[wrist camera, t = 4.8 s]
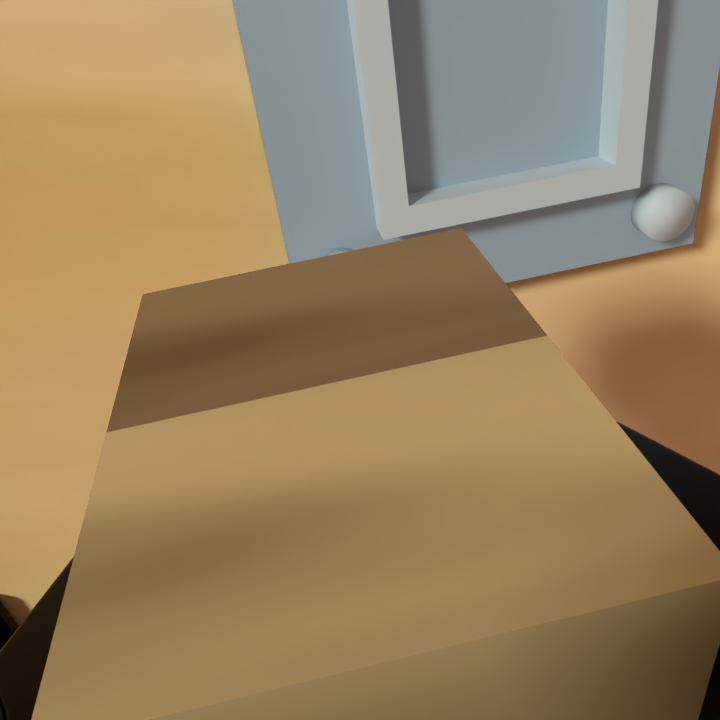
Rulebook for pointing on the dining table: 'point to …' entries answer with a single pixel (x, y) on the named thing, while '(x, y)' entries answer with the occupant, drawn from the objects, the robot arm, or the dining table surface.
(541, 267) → the board
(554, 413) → the block
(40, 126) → the dining table surface
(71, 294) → the dining table surface
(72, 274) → the dining table surface
